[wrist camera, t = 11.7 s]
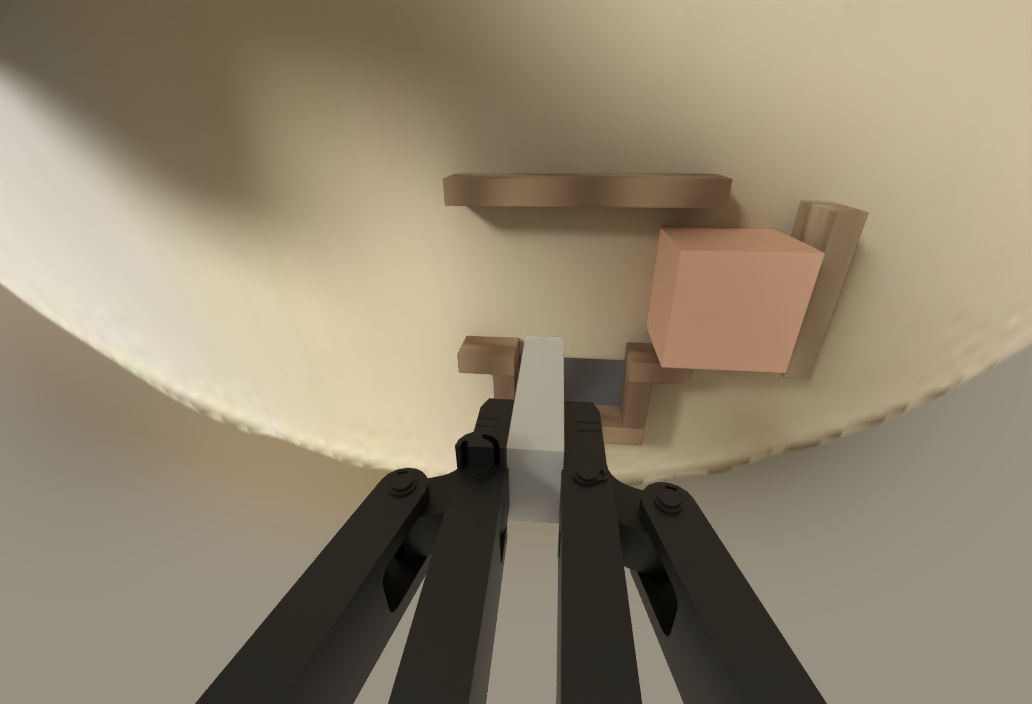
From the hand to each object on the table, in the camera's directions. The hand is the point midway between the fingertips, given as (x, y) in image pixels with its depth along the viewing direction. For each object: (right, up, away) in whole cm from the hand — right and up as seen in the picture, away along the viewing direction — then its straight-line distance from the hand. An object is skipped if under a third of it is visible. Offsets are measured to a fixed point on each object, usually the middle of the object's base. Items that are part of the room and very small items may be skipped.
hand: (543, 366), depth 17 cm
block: (+12, +5, +12) cm, 17 cm away
